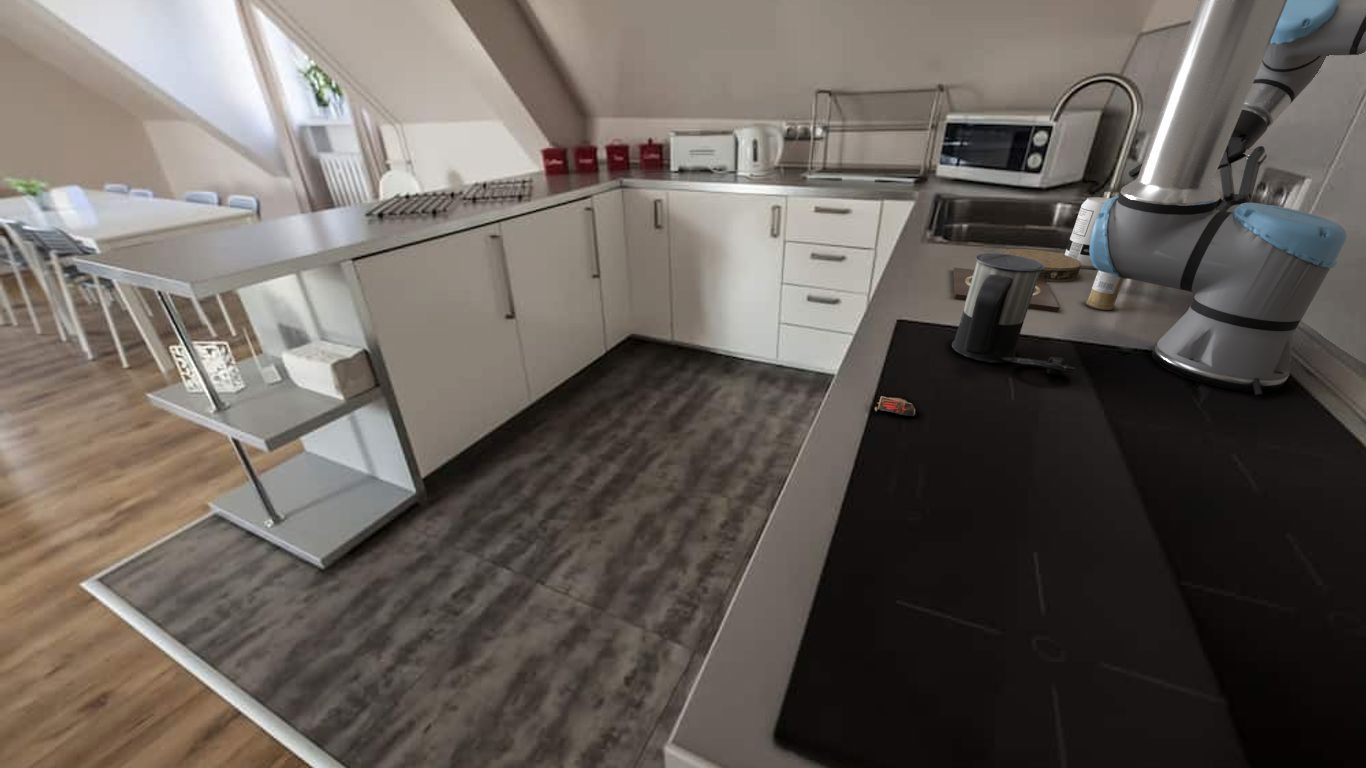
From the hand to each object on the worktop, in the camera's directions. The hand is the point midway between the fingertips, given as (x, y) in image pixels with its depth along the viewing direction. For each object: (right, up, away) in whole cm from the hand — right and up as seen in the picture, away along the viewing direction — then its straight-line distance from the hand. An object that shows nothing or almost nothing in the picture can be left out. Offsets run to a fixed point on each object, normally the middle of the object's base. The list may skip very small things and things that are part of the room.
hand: (1152, 223), depth 104 cm
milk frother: (-38, -27, -18) cm, 50 cm away
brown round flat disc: (-6, -4, +25) cm, 26 cm away
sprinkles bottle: (-7, -15, +4) cm, 17 cm away
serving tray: (-22, -10, +12) cm, 27 cm away
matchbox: (-60, -33, -31) cm, 76 cm away
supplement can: (+8, -1, +30) cm, 31 cm away
